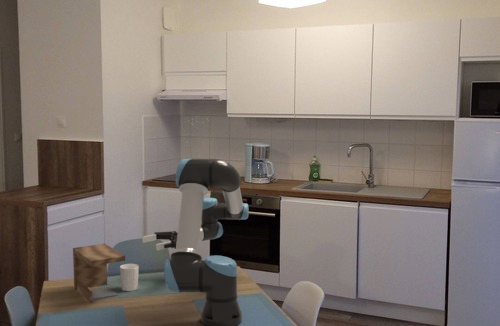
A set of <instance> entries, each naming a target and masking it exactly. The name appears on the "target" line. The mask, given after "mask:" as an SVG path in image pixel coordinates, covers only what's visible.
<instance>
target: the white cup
mask: <svg viewBox="0 0 500 326" xmlns="http://www.w3.org/2000/svg"><path fill="white" fill-rule="evenodd" d="M119 272H120V273H119V274H120V285H121V291H124V292H133V291H136V290H138V286H139V285H138V282H139V264H137V263H126V264H121V265H120V266H119Z"/></svg>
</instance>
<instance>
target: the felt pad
mask: <svg viewBox="0 0 500 326" xmlns="http://www.w3.org/2000/svg"><path fill="white" fill-rule="evenodd" d="M89 290H90V291H91V292H92V299H93V301H98V300H101V299H107V298H112V297H117V296H118V295H119V294H118V293H116V292H115V291H114V290H113V289H111V288H110V287H109V286H108V287H107V286H106V287H102V288H96V289H89Z"/></svg>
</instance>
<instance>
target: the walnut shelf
mask: <svg viewBox="0 0 500 326" xmlns="http://www.w3.org/2000/svg"><path fill="white" fill-rule="evenodd" d="M72 258H73V259H72V260H73V261H72V262H73V290H75V291H77V294H78V295H79V296H80V297H81V298H82V297H83V298H82V299H83V300H85V301H86V302H87V303H88V304H89V303H93V301H94V300H93V299H92V292H91V291H90V290H91V289H89V288H88V287H90V288H95V287H94V286H96V287H100V285H101V286H105V285H108V269H107V268H108V266H107V265H108V264H114V263H119V262H124V261H126V255H125V254H123V253H121V252H120V251H118V250H116V249H115V248H112V247H111V246H109V245H108V244H107V243H100V244H92V245H87V246H86V245H85V246H77V247H73V248H72Z"/></svg>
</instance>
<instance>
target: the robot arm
mask: <svg viewBox="0 0 500 326" xmlns="http://www.w3.org/2000/svg"><path fill="white" fill-rule="evenodd" d="M241 184H242V179H241V175H240V173H239V171H238V170H237V169H236V168H235V166H233V165H232V164H230V162H228V161H227V160H223V159H220V158H193V157H190V158H183V159H182V160H180V161H179V163H178V165H177V167H176V172H175V185H176V187H177V188H178V190H179V192H180V193H181V199H180V210H179V218H178V225H177V227H178V228H177V230H173V231H157V232H154V234H148V235H144V236H143V235H142V237H141V238H142V239H141V241H142V244H145V243H148V242H149V243H150V242H154V241H155V242H157V240H167V241H164V242H160V243H156V244H155V246H156V247H155V248H156V249H155V250H156V251H161V250H165V249H166V250H167V249H174V251H172V252H171V254H170V258H168V259H166V260H165V261H164V281H165V285H166V288H167V289H168V290H169V291H170V292H176V293H177V292H178V293H203V294H205V300H204V304H203V307H202V310H201V313H200V322H201V324H203V325H204V326H238V325H239V324H240V323H242V321H243V314H242V310H241V307H240V304H239V300H238V275H239V273H238V264H237V263H236V261H235V260H234V259H232V258H230V257H228V256H223V255H217V254H216V255H208V256H206V257H205V259H203V260H202V258H203V256H202V255H201V253H200V252H199V248H200V242H204V241H209V240H210V241H211V240H215V239H218V238H220V237H222V235H223V234H224V229H223V225H222V224H221V222H219V221H218V220H239V221H241V220H247V219H248V218H249V212H250V211H249V204H248V203H244V202H243V197H242V193H241V187H240V186H241ZM210 188H215V189H216V188H218V189H220V190H221V191H222V194H223V197H224V198H223V199H224V201H225V202H218V199H217V198H215V197H205V195H207V194H208V193H209V189H210ZM204 197H205V198H204Z"/></svg>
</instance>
